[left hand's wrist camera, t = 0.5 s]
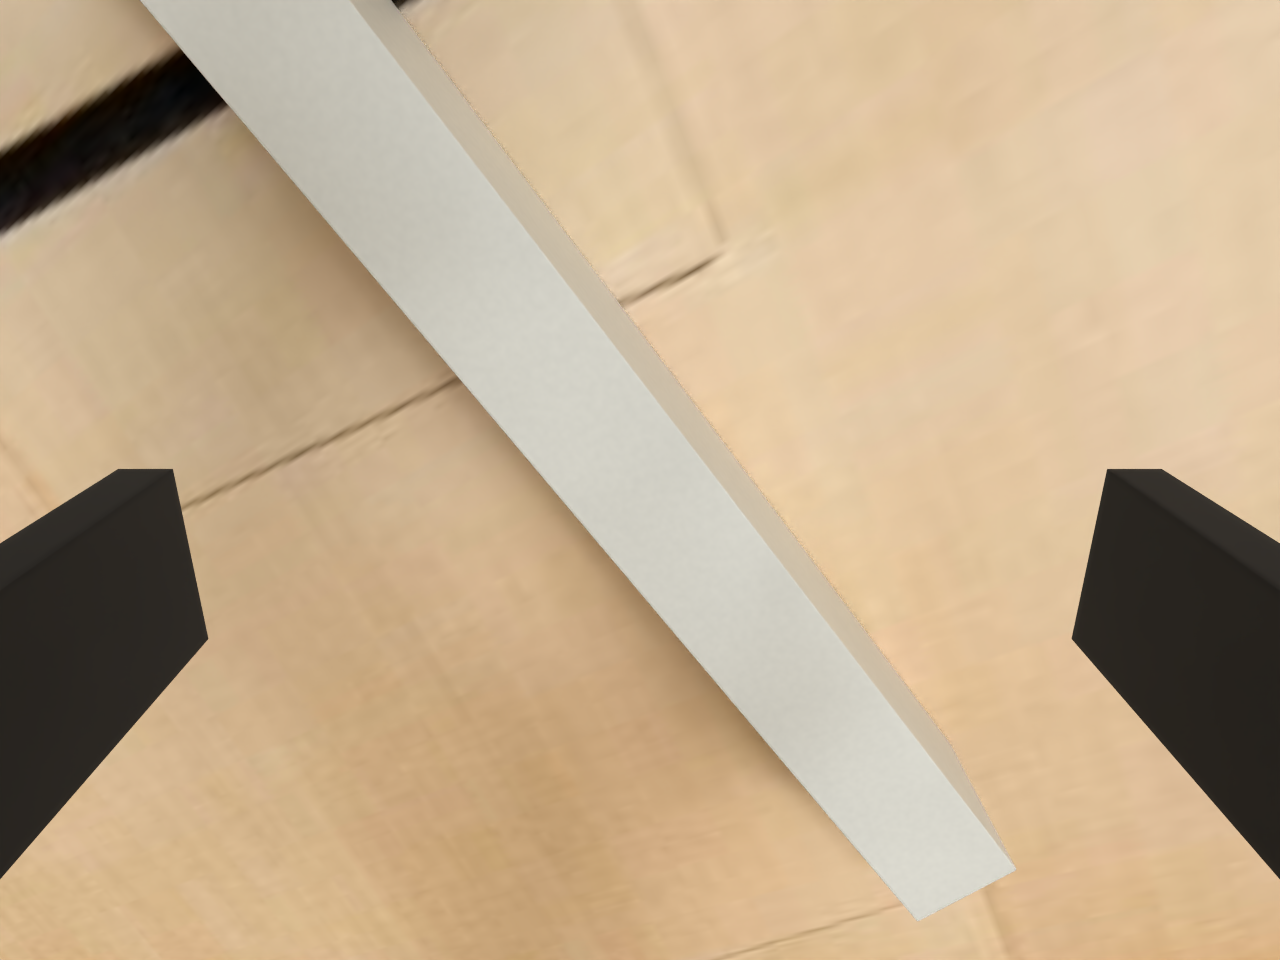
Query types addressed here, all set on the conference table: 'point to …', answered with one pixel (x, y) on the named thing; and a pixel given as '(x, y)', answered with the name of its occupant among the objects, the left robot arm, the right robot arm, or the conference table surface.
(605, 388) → the post
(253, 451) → the conference table surface
